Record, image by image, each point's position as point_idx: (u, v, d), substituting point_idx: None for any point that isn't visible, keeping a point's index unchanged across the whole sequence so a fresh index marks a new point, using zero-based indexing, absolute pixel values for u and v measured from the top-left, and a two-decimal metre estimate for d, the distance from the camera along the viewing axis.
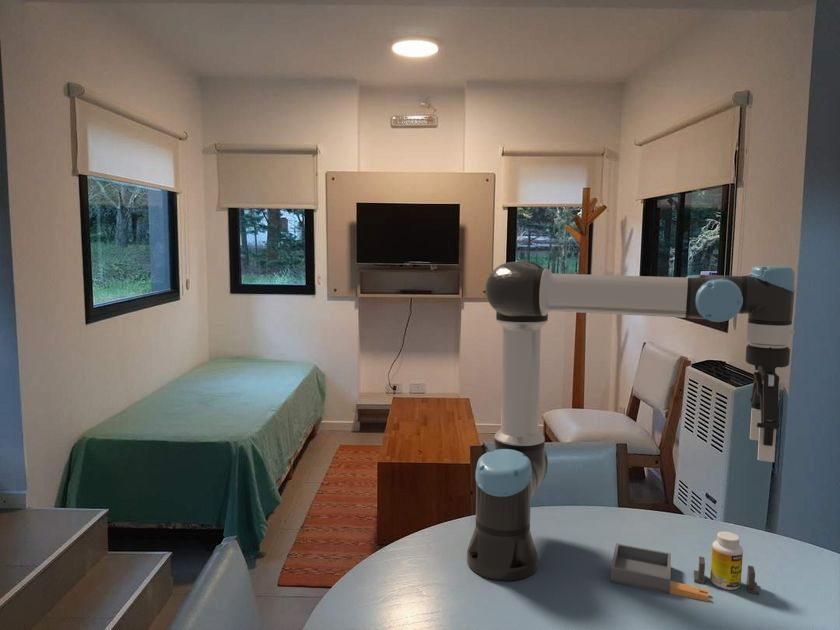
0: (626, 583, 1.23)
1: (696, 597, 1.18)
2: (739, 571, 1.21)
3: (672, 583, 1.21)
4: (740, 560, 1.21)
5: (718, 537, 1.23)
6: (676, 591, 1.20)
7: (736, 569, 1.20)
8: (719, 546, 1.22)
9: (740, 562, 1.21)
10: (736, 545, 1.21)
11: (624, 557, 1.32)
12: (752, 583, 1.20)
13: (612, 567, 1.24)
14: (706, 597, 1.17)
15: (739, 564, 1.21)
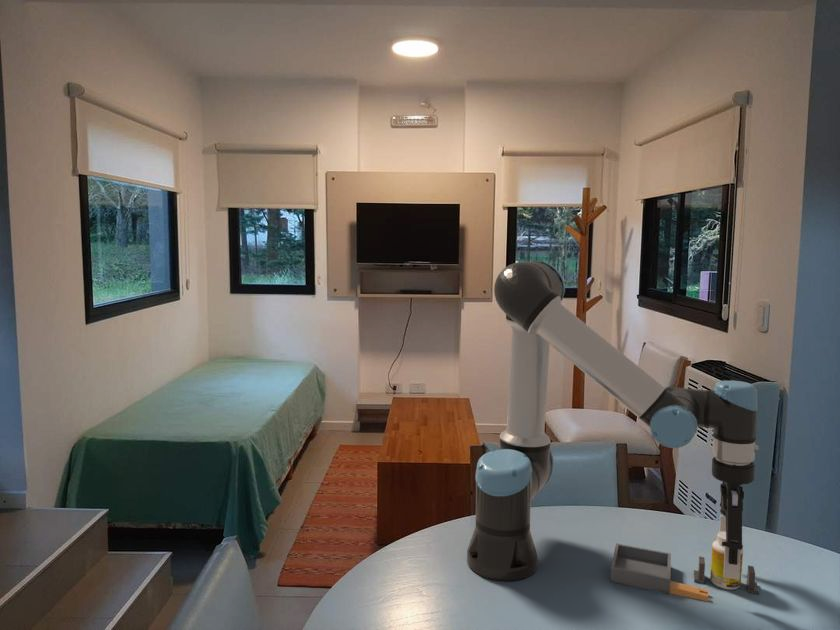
0: (626, 583, 1.23)
1: (696, 597, 1.18)
2: None
3: (672, 583, 1.21)
4: (740, 560, 1.21)
5: (718, 537, 1.23)
6: (676, 591, 1.20)
7: None
8: (719, 546, 1.22)
9: (740, 562, 1.21)
10: None
11: (624, 557, 1.32)
12: (752, 583, 1.20)
13: (612, 567, 1.24)
14: (706, 597, 1.17)
15: None
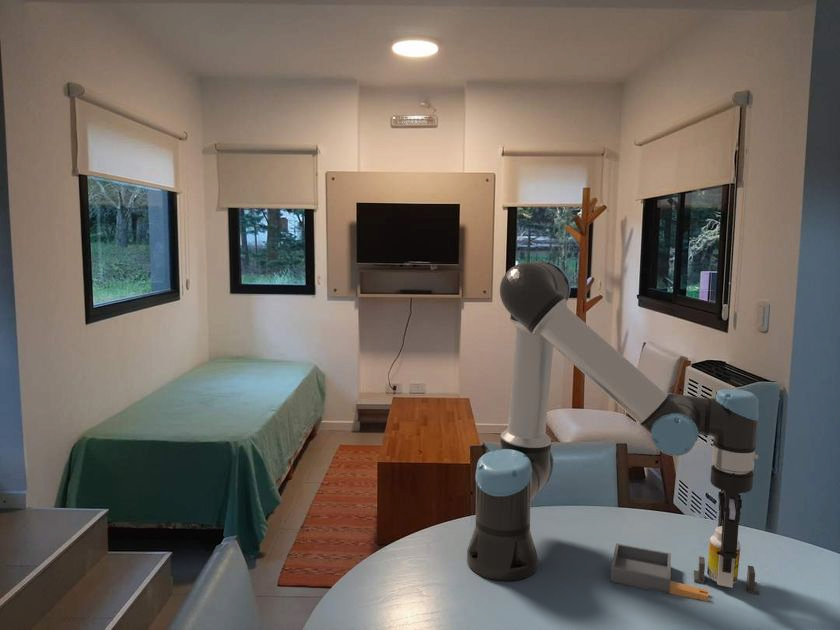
0: (626, 583, 1.23)
1: (696, 597, 1.18)
2: (736, 566, 1.21)
3: (672, 583, 1.21)
4: (737, 555, 1.21)
5: (716, 532, 1.23)
6: (676, 591, 1.20)
7: None
8: (717, 541, 1.22)
9: (737, 557, 1.21)
10: None
11: (624, 557, 1.32)
12: (752, 583, 1.20)
13: (612, 567, 1.24)
14: (706, 597, 1.17)
15: (736, 559, 1.21)
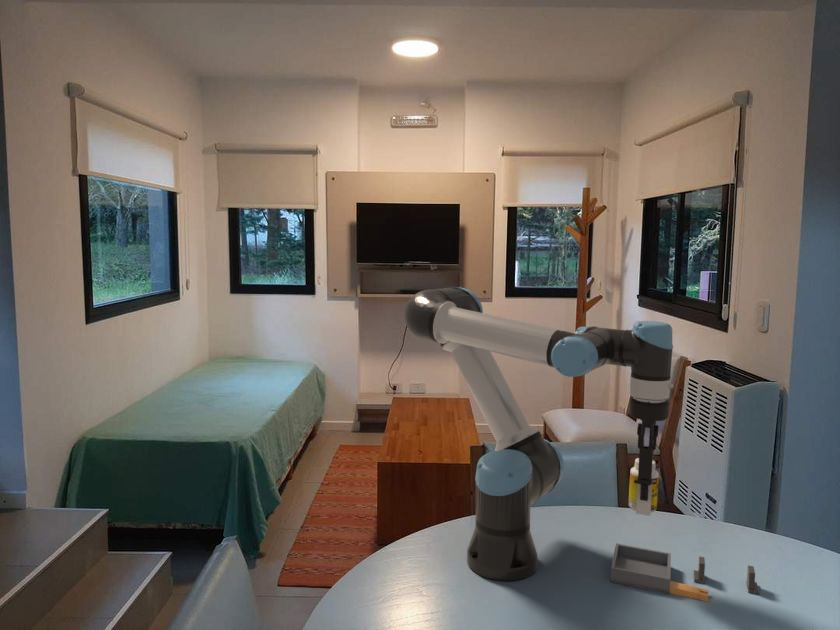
0: (626, 583, 1.23)
1: (696, 597, 1.18)
2: (654, 495, 1.23)
3: (672, 583, 1.21)
4: (655, 484, 1.23)
5: (635, 462, 1.24)
6: (676, 591, 1.20)
7: None
8: (636, 471, 1.24)
9: (655, 486, 1.23)
10: (652, 469, 1.23)
11: (624, 557, 1.32)
12: (752, 583, 1.20)
13: (612, 567, 1.24)
14: (706, 597, 1.17)
15: (654, 488, 1.23)
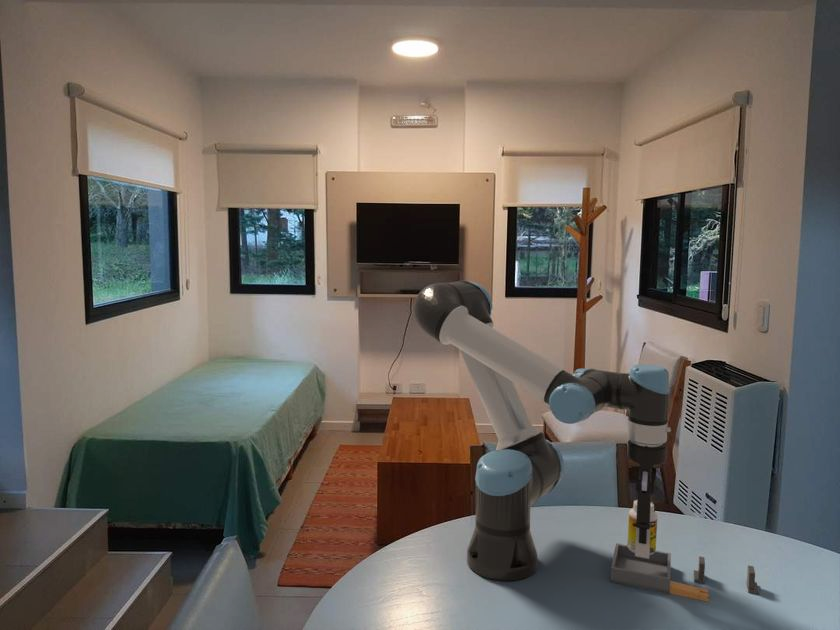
0: (626, 583, 1.23)
1: (696, 597, 1.18)
2: (653, 537, 1.24)
3: (672, 583, 1.21)
4: (654, 526, 1.23)
5: (634, 504, 1.25)
6: (676, 591, 1.20)
7: (650, 535, 1.23)
8: (634, 513, 1.25)
9: (654, 528, 1.24)
10: (650, 512, 1.24)
11: (624, 557, 1.32)
12: (752, 583, 1.20)
13: (612, 567, 1.24)
14: (706, 597, 1.17)
15: (653, 530, 1.23)
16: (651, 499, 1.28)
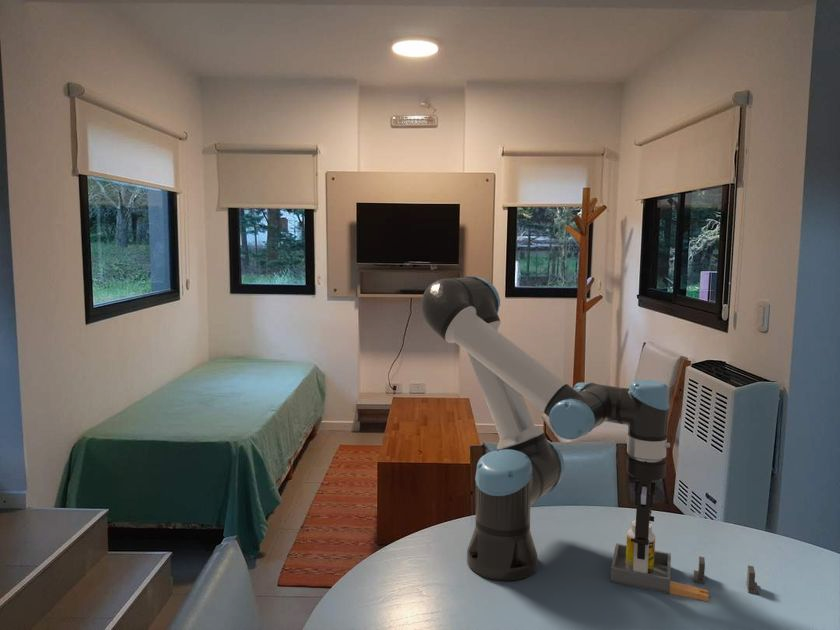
0: (626, 583, 1.23)
1: (696, 597, 1.18)
2: (651, 558, 1.24)
3: (672, 583, 1.21)
4: (652, 547, 1.24)
5: (632, 525, 1.26)
6: (676, 591, 1.20)
7: None
8: (632, 534, 1.26)
9: (652, 549, 1.24)
10: None
11: (624, 557, 1.32)
12: (752, 583, 1.20)
13: (612, 567, 1.24)
14: (706, 597, 1.17)
15: (651, 551, 1.24)
16: (650, 509, 1.29)
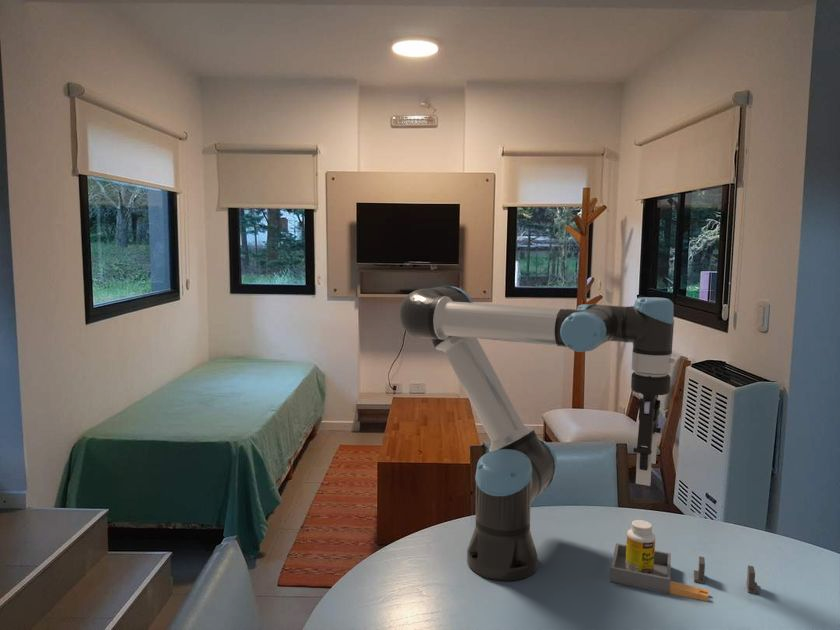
0: (626, 583, 1.23)
1: (696, 597, 1.18)
2: (651, 558, 1.24)
3: (672, 583, 1.21)
4: (652, 547, 1.24)
5: (632, 525, 1.26)
6: (676, 591, 1.20)
7: (647, 556, 1.24)
8: (632, 534, 1.26)
9: (652, 549, 1.24)
10: (648, 533, 1.24)
11: (624, 557, 1.32)
12: (752, 583, 1.20)
13: (612, 567, 1.24)
14: (706, 597, 1.17)
15: (651, 552, 1.24)
16: (656, 423, 1.31)
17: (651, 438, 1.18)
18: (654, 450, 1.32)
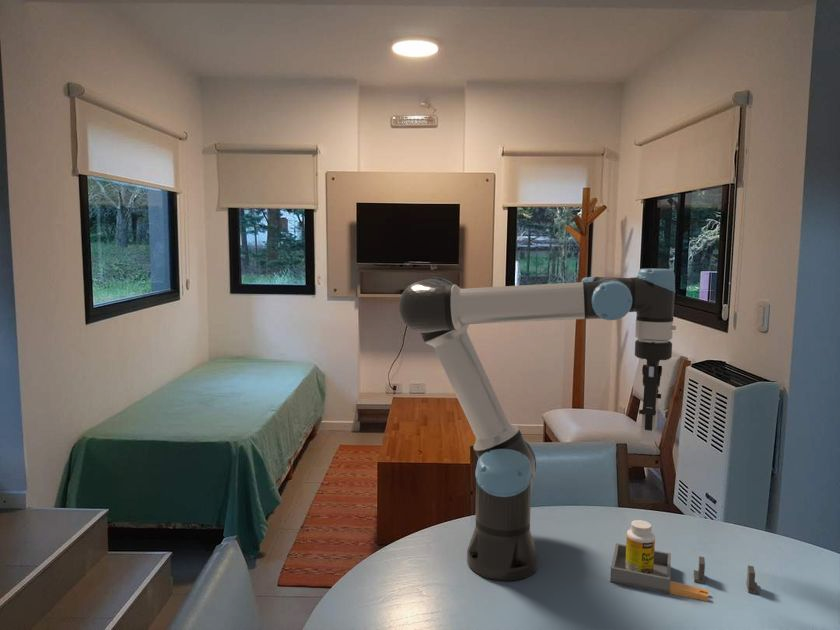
0: (626, 583, 1.23)
1: (696, 597, 1.18)
2: (650, 558, 1.24)
3: (672, 583, 1.21)
4: (651, 547, 1.24)
5: (631, 525, 1.26)
6: (676, 591, 1.20)
7: (647, 556, 1.24)
8: (632, 534, 1.26)
9: (651, 549, 1.24)
10: (648, 533, 1.24)
11: (624, 557, 1.32)
12: (752, 583, 1.20)
13: (612, 567, 1.24)
14: (706, 597, 1.17)
15: (650, 552, 1.24)
16: (657, 389, 1.38)
17: None
18: (655, 415, 1.39)
